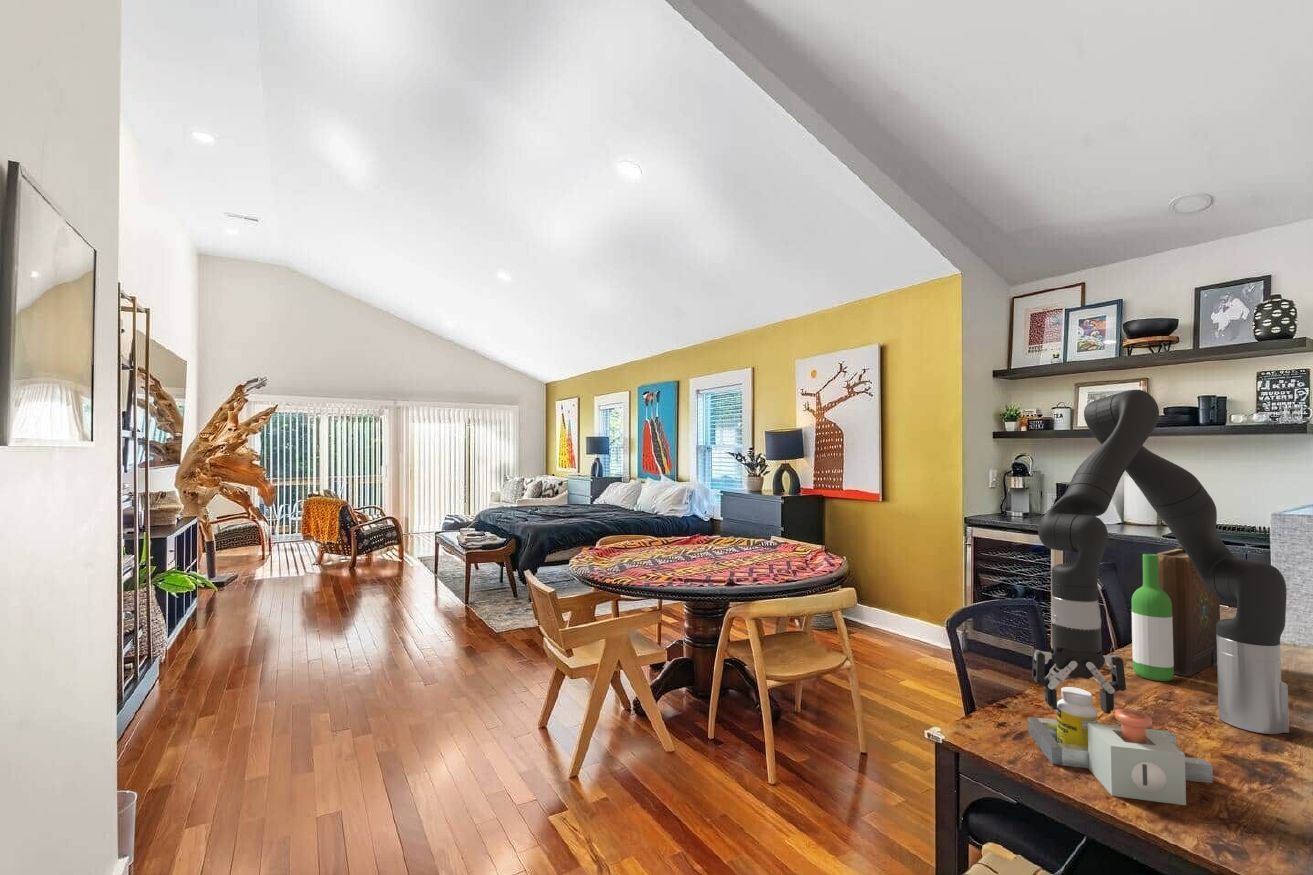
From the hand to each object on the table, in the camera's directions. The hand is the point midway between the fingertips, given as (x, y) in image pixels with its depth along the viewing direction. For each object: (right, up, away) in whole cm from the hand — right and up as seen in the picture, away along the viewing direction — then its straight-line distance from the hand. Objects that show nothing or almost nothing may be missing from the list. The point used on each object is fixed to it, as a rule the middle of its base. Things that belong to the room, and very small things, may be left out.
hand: (1078, 709), depth 109 cm
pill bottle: (0, -8, 0) cm, 8 cm away
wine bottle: (+44, -9, +36) cm, 58 cm away
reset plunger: (+1, 0, -11) cm, 11 cm away
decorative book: (+60, -9, +43) cm, 74 cm away
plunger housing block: (+1, -8, -11) cm, 13 cm away
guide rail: (+6, -8, -2) cm, 10 cm away
